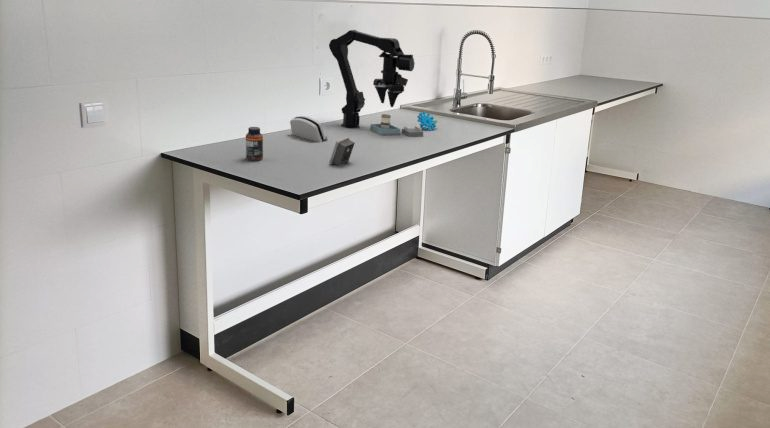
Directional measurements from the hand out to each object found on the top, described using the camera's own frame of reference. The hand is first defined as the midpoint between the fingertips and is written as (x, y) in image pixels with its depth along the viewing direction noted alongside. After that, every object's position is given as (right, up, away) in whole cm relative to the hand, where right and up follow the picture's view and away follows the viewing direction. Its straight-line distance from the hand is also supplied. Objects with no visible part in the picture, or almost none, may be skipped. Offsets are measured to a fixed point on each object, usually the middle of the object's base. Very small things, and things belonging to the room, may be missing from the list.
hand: (387, 105), depth 288 cm
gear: (+18, -9, +17) cm, 26 cm away
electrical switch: (-17, -29, -50) cm, 60 cm away
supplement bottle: (-47, -28, -53) cm, 77 cm away
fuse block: (+11, -13, +3) cm, 17 cm away
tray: (-1, -11, +4) cm, 12 cm away
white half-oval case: (-33, -17, -17) cm, 40 cm away
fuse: (-1, -11, +4) cm, 12 cm away
